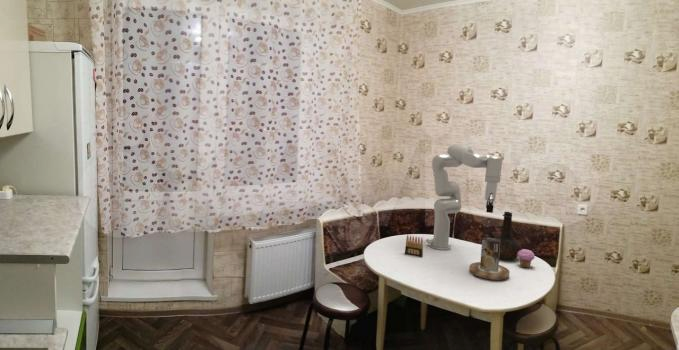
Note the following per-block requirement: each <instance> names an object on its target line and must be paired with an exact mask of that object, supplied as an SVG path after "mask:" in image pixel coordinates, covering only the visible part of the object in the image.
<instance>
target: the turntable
mask: <svg viewBox="0 0 679 350" xmlns="http://www.w3.org/2000/svg"><path fill="white" fill-rule="evenodd" d="M480 262H481V261H476V262H473V263H471V264H469V271H470V273H471V274H472V275H474V276H476V277H479V278H483V279H487V280H491V281H492V280H495V281H499V280H500V281H501V280H502V281H503V280H507V279H508V278H510V272H511V271H510V270H509V268H507V267H505V266H504V265H500V264H499V267H498V272H497V271H491V270H485V269H480Z"/></svg>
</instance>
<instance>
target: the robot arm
mask: <svg viewBox="0 0 679 350" xmlns="http://www.w3.org/2000/svg"><path fill="white" fill-rule="evenodd" d="M462 164H463V165H465V166H466V167H469V168H474V169H481V168H482V169H483V168H484V169H485V177H484V182H485V183H486V184H485V185H486V186H485V193H484V194H485V195H484V201H486V202H485V203H486V205H485V209H486V211H485V212H486V213H491V214H493V213H494V202H495V200H496V195H497V189H498V184H500V183H501V176H502V164H503V158H502V157H501V156H499V155H492V154H491V153H474V150H473V148H471V145H468V144H463V143H461V144H460V143H459V144H458V143H457V144H456V143H455V144H451V145H449V146H448V147H447V151H446V153H439V154H435V156H433V158H432V161H431V168H432V172H433V175H434V176H433V177H434V179H433V180H434V190H435V194H436V196H438V197H440V198H439V199H436V200H435V201H434V203H433V208H434V209H433V210H434V223H433V224H434V227H433V238H431V239H429V238H426V241H425V242H426V243H427V244H430V247H431V248H432V249H434V250H437V251H438V250H439V251H446V250H447V251H448V250H451V244H449V240H450V230H451V229H450V228H451V227H450V225H451V220H450V217H449V214H458V213H459V212H461V210H462V197H461V188H460V185H459V184H458V182H456V181H450V180H449V174H448V172H447V170H446V169H445V168H458V167H460V166H461V165H462ZM441 197H443V198H441ZM444 197H449V198H444Z"/></svg>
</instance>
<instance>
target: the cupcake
mask: <svg viewBox="0 0 679 350" xmlns="http://www.w3.org/2000/svg"><path fill="white" fill-rule="evenodd" d="M534 253H535V252H533V251H532V250H530V249H526V248H522V249H521V250H520V251H519V252H518V253H517V256H518V257H517V258H519V266H520V268H521V267H522V268H526V269H527V268H528V269H529V268H530V267H531V264H532V261H533V260H534V259H535V254H534Z"/></svg>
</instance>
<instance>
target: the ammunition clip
mask: <svg viewBox="0 0 679 350" xmlns="http://www.w3.org/2000/svg"><path fill="white" fill-rule="evenodd" d="M405 240H406V241H405V248H404V249H405V250H404V255H407V256H413V257H417V258H423V255H424V254H423V253H424V250H423V249H424V242H423V241H424V239H423V237H420V236H418V237H417V236H414V235H413V236H412V235H411V234H410V235H409V234H407V236H406V239H405Z"/></svg>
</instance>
